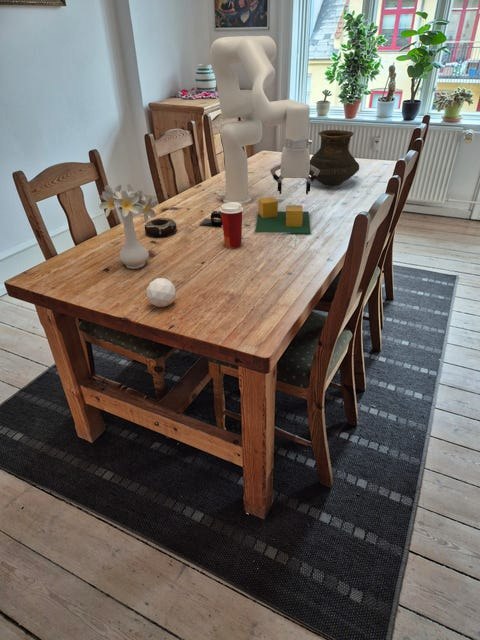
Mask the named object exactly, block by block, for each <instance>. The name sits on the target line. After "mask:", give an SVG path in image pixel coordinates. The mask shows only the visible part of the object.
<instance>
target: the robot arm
mask: <svg viewBox="0 0 480 640" xmlns="http://www.w3.org/2000/svg"><path fill="white" fill-rule="evenodd" d="M277 52H278V48H277V45H276V42H275V40H274V39H273V38H272V37H271V36H269V35H240V36H239V35H238V36H223V37H219V38H216V39H215V40H214V41H213V42H212V44H211V46H210V49H209V61H210V66H211V69H212V73H213V75H214V78H215V82H216V89H217V94H218V95H217V96H218V102H219V107H220V113H221V114H222V116H223V118H225V119H236V118H237V119H238V118H244V120H237V121H236V120H235V121H231V122H228V123H226V124H224V125H223V126H222V127H221V129H220V139H221V140H220V141H221V143H222V149H223V155H224V156H223V157H224V174H225V177H224V178H225V189H223V190H216V191H215V195H216V196H217V197H219V198H222V202H223V204H225V203H230V202H235V203H240V204H241V205H244V204H247V203H250V202H252V201H253V196H252V195H250V194H249V166H248V165H249V163H248V156H247V153H246V152H245V150H244V148H243V147H246V146H251V145H257V144H258V143H260V142H261V140H262V138H263V125H264V126H266V127H276V126H282V125H285V144H284V146H283V147H282V150H281V157H280V164H278V165H276V166H274V167H272V168H270V174H271V176H272V179H273V180H275V181H276V183H277V192H279V193H278V195H282V188H283V187H282V186H283V185H282V184H283V180H284V179H305V180H306V183H305V184H306V185H305V194H306V195H307V196H308V195H309V193H310V192H311V185H312V183H313V181H315V179H316V177H317V176H318V174H319V172H320V170H319V169H317V168H316V167H314V166H312V165H310V159H311V152H310V146H309V145H312V144H313V140H312V139H309V129H310V126H309V125H310V116H311V115H310V114H311V108H310V105H309V104H307V103H304V102H298V101H296V100H294V99H282V100H274V101H269V98H268V97H267V95H266V93H265V89H266V88H267V87H269V86H270V85H271V84H272V82H273V81H274V80H275V77H276V70H275V67H274V66H273V64H272V63H273V62H274V61H275V59H276V57H277V54H278V53H277ZM231 64H242V66H243V68H244V70H245V72H246V73H247V76H248V78H249V79H250V81H251V83H252V89H241V87H240V82H239V76H238V74H237V73H236V71H235V69H234V68H233V67H232V66H231ZM279 170H280V171H279ZM310 170H312V171H314V172H315V173H314V175H312V176H310V175H309V171H310ZM277 171H279V172H280V175H277V173H276V172H277Z"/></svg>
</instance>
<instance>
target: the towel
mask: <svg viewBox="0 0 480 640" xmlns="http://www.w3.org/2000/svg"><path fill="white" fill-rule="evenodd" d="M309 214H310V213H309V211H303V217H302V227H286V211H278V217H270V218H262V217H261V216H260V214H259V211H258V212H257V217H256V224H255V231H254V234H255V233H258V234H260V233H261V234H269V233H270V234H285V235H311V234H312V233H311V223H310V215H309Z"/></svg>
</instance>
